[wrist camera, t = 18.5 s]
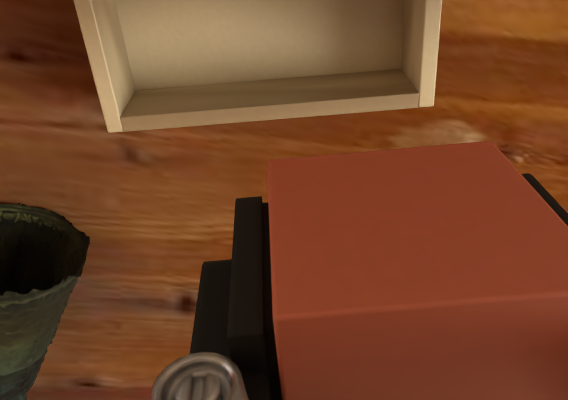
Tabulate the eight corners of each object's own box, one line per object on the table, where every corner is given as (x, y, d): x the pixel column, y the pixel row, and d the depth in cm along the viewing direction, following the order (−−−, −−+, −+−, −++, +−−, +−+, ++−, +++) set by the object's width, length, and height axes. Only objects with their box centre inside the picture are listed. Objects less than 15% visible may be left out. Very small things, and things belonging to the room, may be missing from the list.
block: (266, 158, 11) (272, 318, 7) (492, 139, 11) (626, 287, 7) (283, 323, 13) (294, 513, 9) (468, 308, 13) (558, 490, 9)
